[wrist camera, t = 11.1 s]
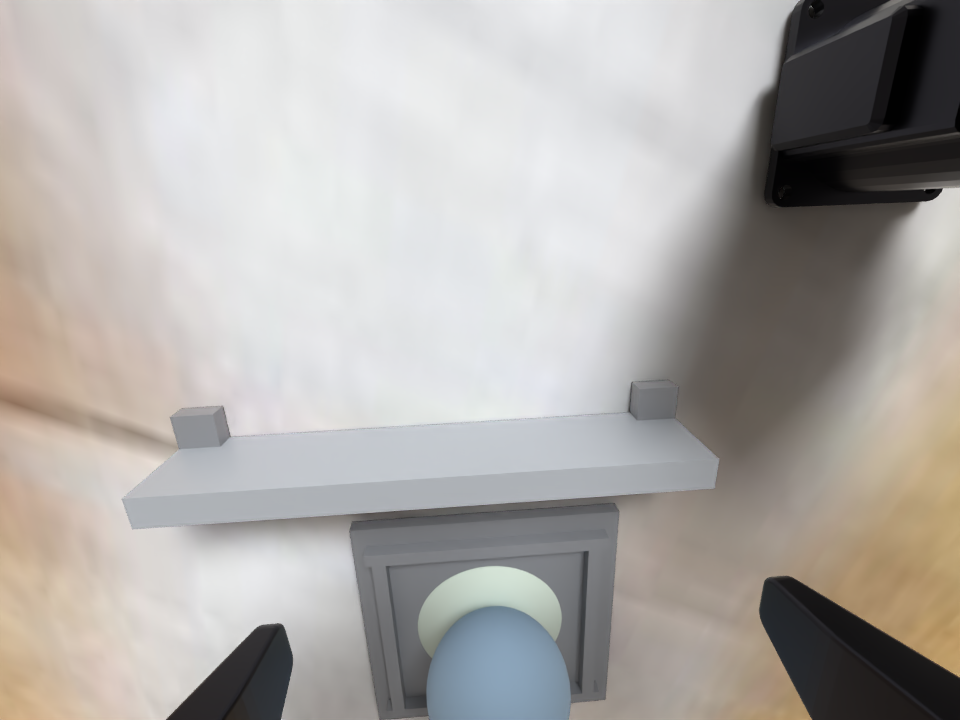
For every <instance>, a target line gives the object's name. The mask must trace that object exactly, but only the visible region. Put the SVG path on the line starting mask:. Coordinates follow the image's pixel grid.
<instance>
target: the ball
mask: <svg viewBox="0 0 960 720" xmlns="http://www.w3.org/2000/svg"><path fill="white" fill-rule="evenodd" d="M426 695H427V709H428V715H429V720H569V715H570V705H571V693H570V681H569V677H568V672H567V668H566V664H565V662H564V659H563V656H562V654H561V652H560V650H559V648H558V646H557V644H556V642H555V641H554V640H553V638H552V637H551V635H550V634H549V632H548V631H547V630H546V629H545V628H544V627H543V626H542V625H541V624H540V623H539V622H538V621H536V620H535V619H534V618H532V617H531V616H529V615H528V614H526V613H524V612H522V611H519V610H517V609H514V608H510V607H505V606H489V607H484V608H480V609H477V610H474V611H472V612H470V613H468V614H466V615H465V616H463V617H462V618H460V619H459V620H458V621H457V622H455V623H454V624H453V625H452V626H451V627H450V628H449V630H448V631H447V632H446V633H445V635H444V636H443V637H442V639H441V641H440V643H439V644H438V646H437V648H436V650H435V653H434V655H433V658H432V661H431V664H430V668H429V672H428V678H427V688H426Z"/></svg>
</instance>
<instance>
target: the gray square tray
mask: <svg viewBox="0 0 960 720" xmlns="http://www.w3.org/2000/svg"><path fill="white" fill-rule="evenodd" d="M618 520H619V511H618V509H617V507H616V505H615V503H613V504H599V505H585V506H570V507H556V508H542V509H528V510H514V511H500V512H486V513H472V514H457V515H443V516H429V517H415V518H401V519H387V520H373V521H359V522H352V525H351V528H350V531H349V532H350V538H351V544H352V550H353V556H354V563H355V569H356V575H357V581H358V588H359V594H360V600H361V606H362V613H363V619H364V625H365V631H366V638H367V644H368V650H369V656H370V663H371V669H372V675H373V681H374V688H375V694H376V700H377V706H378V712H379V719H380V720H385V719H399V718H410V717H421V716H429V715H428V709H427V695H426V688H427V678H428V672H429V668H430V664H431V661H432V658H433V655H434V653H435V650H436V648H437V646H438V644H439V643H440V641H441V639H442V637H443V636H444V635H445V633H446V632H447V631H448V630H449V628H450V627H451V626H452V625H453V624H454V623H455V622H457V621H458V620H459V619H460V618H462V617H463V616H465V615H466V614H468V613H470V612H472V611H474V610H477V609H480V608H484V607H489V606H505V607H510V608H514V609H517V610H519V611H522V612H524V613H526V614H528V615H529V616H531V617H532V618H534V619H535V620H536V621H538V622H539V623H540V624H541V625H542V626H543V627H544V628H545V629H546V630H547V631H548V632H549V634H550V635H551V637H552V638H553V640H554V641H555V642H556V644H557V646H558V648H559V650H560V652H561V654H562V656H563V659H564V662H565V664H566V668H567V672H568V677H569V681H570V693H571V703H576V702H587V701H598V700H605V698H606V684H607V671H608V657H609V643H610V630H611V616H612V602H613V589H614V575H615V561H616V548H617V534H618Z"/></svg>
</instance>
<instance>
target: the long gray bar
mask: <svg viewBox="0 0 960 720" xmlns="http://www.w3.org/2000/svg"><path fill="white" fill-rule="evenodd" d="M678 389H679V387H678V386H677V385H676V384H674V383H673V382H672V381H670V380H658V381H641V382H632V391H631V404H630V412H627V413H611V414H595V415H579V416H563V417H546V418H530V419H514V420H498V421H481V422H465V423H449V424H433V425H416V426H400V427H384V428H368V429H352V430H335V431H319V432H303V433H287V434H270V435H254V436H238V437H230V434H229V430H228V426H227V422H226V418H225V413H224V409H223V406H214V407H197V408H182V409H180V410H179V411H178V412H176V413H175V414H173V415H172V416H171V417H170V419H171V423H172V426H173V430H174V433H175V437H176V440H177V444H178V447H179V450H178V451H177V452H175V453H174V454H173V455H172V456H171V457H170V458H168V459H167V460H166V461H165V462H164V463H163V464H162V465H160V466H159V467H158V468H157V469H156V470H155V471H153V472H152V473H151V474H150V475H149V476H148V477H147V478H145V479H144V480H143V481H142V482H141V483H140V484H138V485H137V486H136V487H135V488H134V489H133V490H131V491H130V492H129V493H128V494H127V495H126V496H125V497H123V498H122V501H123V504H124V507H125V510H126V513H127V516H128V518H129V521H130V524H131V527H132V529H145V528H159V527H174V526H188V525H202V524H216V523H231V522H245V521H259V520H274V519H288V518H302V517H317V516H331V515H345V514H359V513H374V512H388V511H402V510H417V509H431V508H445V507H459V506H474V505H488V504H502V503H517V502H531V501H545V500H559V499H574V498H588V497H602V496H617V495H631V494H645V493H659V492H674V491H688V490H702V489H715V484H716V478H717V471H718V464H719V458H718V457H717V456H716V455H714V454H713V453H712V452H711V451H710V450H709V449H708V448H707V447H706V446H705V445H704V444H703V443H701V442H700V441H699V440H698V439H697V438H696V437H695V436H694V435H693V434H692V433H691V432H690V431H688V430H687V429H686V428H685V427H684V426H683V425H682V424H681V423H680V422H679V421H678V420H677V419H675V415H676V406H677V397H678Z"/></svg>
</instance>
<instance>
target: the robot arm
mask: <svg viewBox="0 0 960 720" xmlns="http://www.w3.org/2000/svg"><path fill="white" fill-rule="evenodd" d="M810 6H812V7H813V9H814V17H813V18H811V17H810V15H809V10H808V9H809V7H810ZM771 145H772V148H771V154H770V161H769V167H768V173H767V180H766V186H765V193H764V198H765V201H766V203H767V204H768V205H769V206H771V207H800V206H824V205H848V204H873V203H897V202H921V201H930V200H933V199H934V198H936V197H937V196H938V195H939V194H940V193H941V192H942V189H943V188H959V187H960V0H800V1H799V2H798V3H797V5H796V6H795V8H794V10H793V14H792V19H791V25H790V32H789V38H788V45H787V51H786V57H785V63H784V64H783V67H782V72H781V78H780V85H779V91H778V98H777V104H776V111H775V117H774V124H773V130H772V137H771ZM781 187H783V188H784V195H783V197H782V198H781V199H780V198H779V195H778V192H779V190H780V188H781ZM924 189H925V191H924ZM759 613H760V619H761V621H762V624H763V626H764V628H765V630H766V632H767V634H768V636H769V638H770V640H771V642H772V644H773V646H774V647H775V649H776V651H777V653H778V655H779V657H780V659H781V661H782V663H783V665H784V667H785V669H786V671H787V673H788V675H789V677H790V679H791V681H792V682H793V684H794V686H795V688H796V690H797V692H798V694H799V696H800V698H801V700H802V702H803V704H804V705H805V707H806V709H807V711H808V713H809V715H810V717H811V718H812V720H960V677H958V676H956V675H955V674H953V673H951V672H950V671H948V670H946V669H945V668H943V667H941V666H940V665H938V664H936V663H935V662H933V661H931V660H930V659H928V658H926V657H925V656H923V655H921V654H920V653H918V652H916V651H915V650H913V649H911V648H910V647H908V646H906V645H905V644H903V643H901V642H900V641H898V640H896V639H895V638H893V637H891V636H890V635H888V634H886V633H885V632H883V631H881V630H880V629H878V628H876V627H875V626H873V625H871V624H870V623H868V622H866V621H865V620H863V619H861V618H860V617H858V616H856V615H855V614H853V613H851V612H850V611H848V610H846V609H845V608H843V607H841V606H840V605H838V604H836V603H835V602H833V601H831V600H830V599H828V598H826V597H825V596H823V595H821V594H820V593H818V592H816V591H815V590H813V589H811V588H810V587H808V586H806V585H805V584H803V583H801V582H800V581H798V580H796V579H794V578H792V577H790V576H777V577H769V578H767V579H766V580H765V581H764V585H763V591H762V596H761V602H760V607H759ZM292 666H293V655H292V651H291V648H290V644H289V641H288V638H287V634H286V631H285V628H284V626H283V625H282V624H279V623H277V624H267V625H261V626H259V627H257V628H256V629H255V630H254V631H253V632H252V633H251V634H250V635H249V636H248V637H247V638H246V639H245V640H244V641H243V642H242V643H241V644H240V645H239V646H238V647H237V648H236V649H235V650H234V651H233V652H232V653H231V654H230V655H229V656H228V657H227V658H226V659H225V660H224V661H223V662H222V663H221V664H220V665H219V666H218V667H217V668H216V669H215V670H214V671H213V672H212V673H211V674H210V675H209V676H208V677H207V678H206V679H205V680H204V681H203V682H202V683H201V684H200V685H199V686H198V687H197V688H196V690H195V691H194V692H193V693H192V694H191V695H190V696H189V697H188V698H187V699H186V700H185V701H184V702H183V703H182V704H181V705H180V706H179V707H178V708H177V709H176V710H175V711H174V712H173V713H172V714H171V715H170V716H169V717H168V718H167V719H166V720H281V716H282V712H283V707H284V703H285V698H286V694H287V689H288V685H289V681H290V676H291V672H292Z"/></svg>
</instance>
